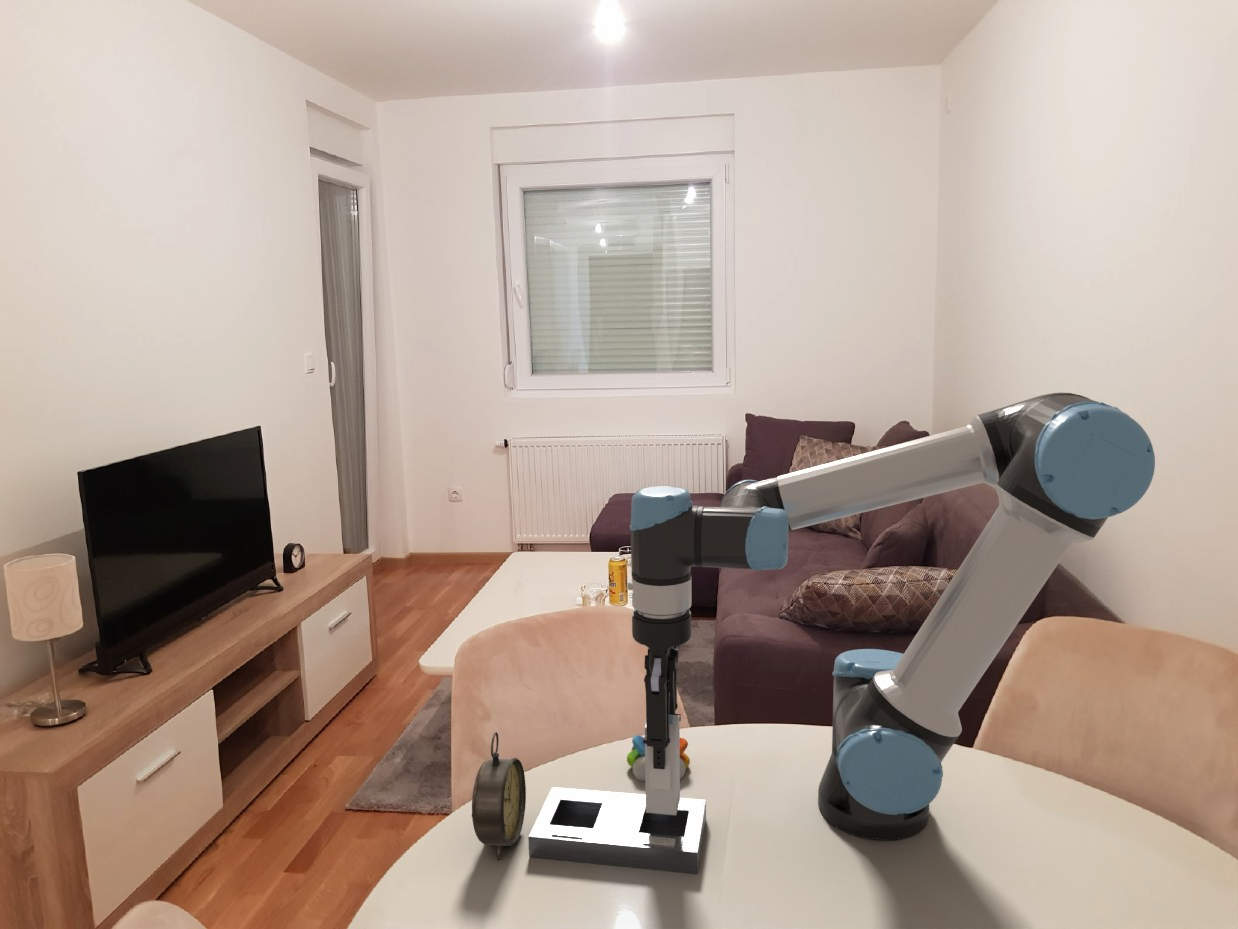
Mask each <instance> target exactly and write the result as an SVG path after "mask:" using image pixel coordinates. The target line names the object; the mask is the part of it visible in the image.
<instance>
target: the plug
mask: <svg viewBox="0 0 1238 929" xmlns="http://www.w3.org/2000/svg"><path fill="white" fill-rule="evenodd" d="M680 731H681V730H680V722H679V715H670V717H669V739H670V741H671V790H663V789H652V788H650V767H649V746H647V744H645V781H644V783H645V784H644V785H645V786H644V787H645V795H646V813H656V814H667V815H676V814H677V810H678V805H679V800H680V798H681V788H680V785H681V782H680V781H681V779H680V738H681V737H680ZM644 737H647V728H646V724H645V725H644Z"/></svg>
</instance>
